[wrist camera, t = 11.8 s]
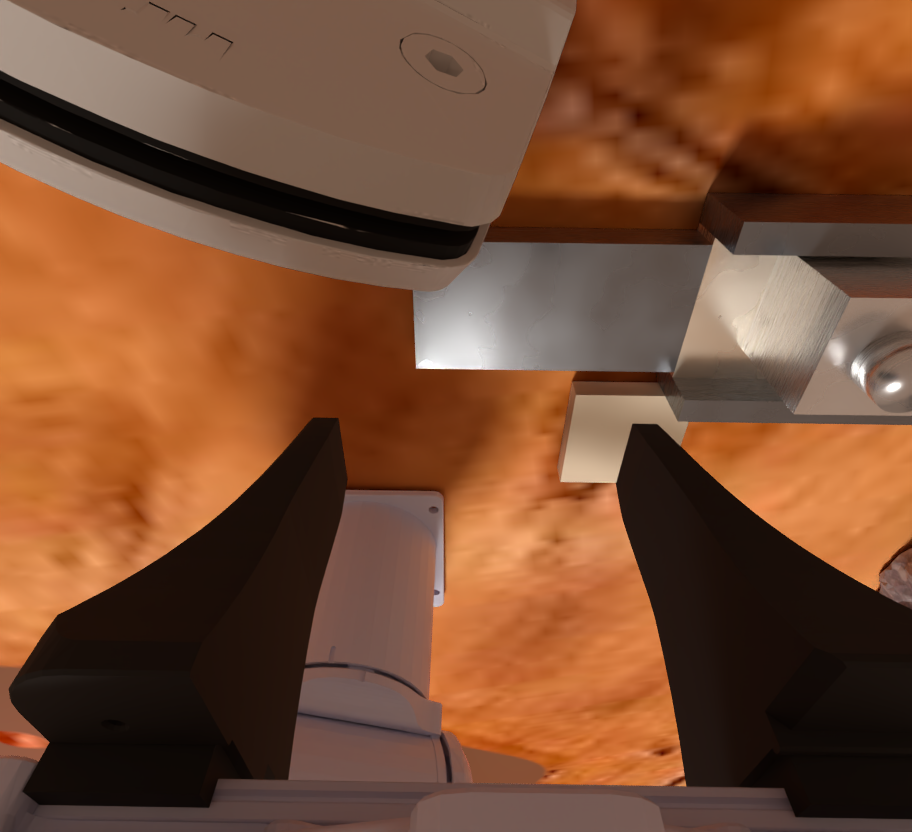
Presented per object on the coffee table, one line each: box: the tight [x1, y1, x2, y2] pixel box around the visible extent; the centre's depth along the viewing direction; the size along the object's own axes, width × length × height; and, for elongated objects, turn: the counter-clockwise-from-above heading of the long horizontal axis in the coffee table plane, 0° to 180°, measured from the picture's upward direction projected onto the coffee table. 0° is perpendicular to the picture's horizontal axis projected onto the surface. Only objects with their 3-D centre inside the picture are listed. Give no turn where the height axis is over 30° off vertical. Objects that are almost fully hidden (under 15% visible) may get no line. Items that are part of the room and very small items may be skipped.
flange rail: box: [413, 193, 912, 425], centre depth 19 cm, size 8×19×3 cm, turn 89°
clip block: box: [742, 256, 912, 416], centre depth 17 cm, size 4×4×5 cm
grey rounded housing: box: [0, 0, 577, 292], centre depth 12 cm, size 17×5×10 cm, turn 66°
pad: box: [558, 381, 688, 483], centre depth 24 cm, size 5×5×1 cm
